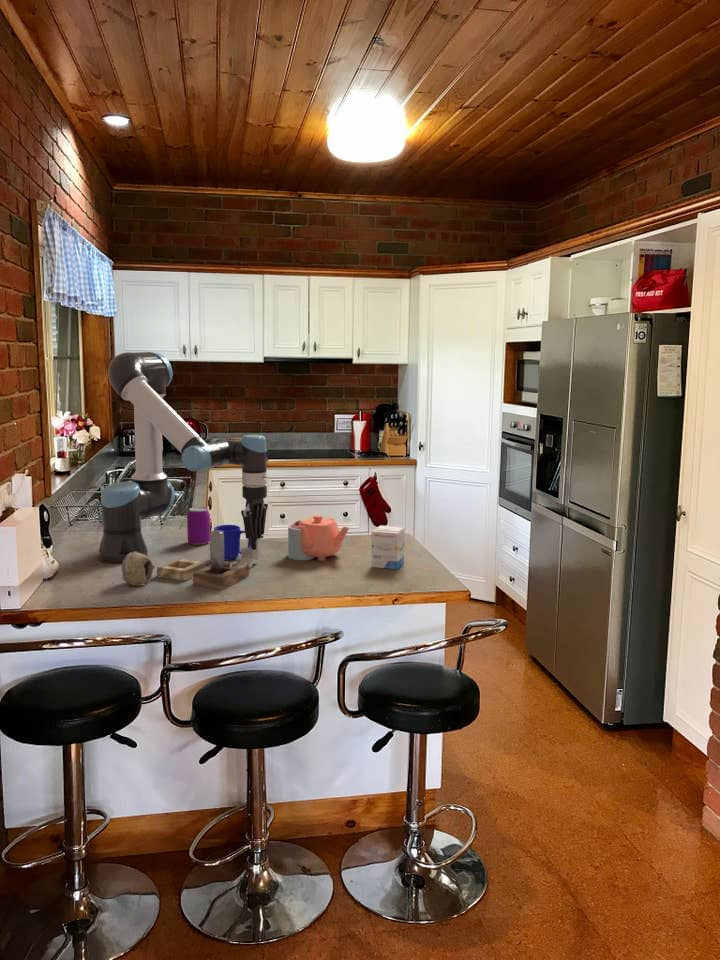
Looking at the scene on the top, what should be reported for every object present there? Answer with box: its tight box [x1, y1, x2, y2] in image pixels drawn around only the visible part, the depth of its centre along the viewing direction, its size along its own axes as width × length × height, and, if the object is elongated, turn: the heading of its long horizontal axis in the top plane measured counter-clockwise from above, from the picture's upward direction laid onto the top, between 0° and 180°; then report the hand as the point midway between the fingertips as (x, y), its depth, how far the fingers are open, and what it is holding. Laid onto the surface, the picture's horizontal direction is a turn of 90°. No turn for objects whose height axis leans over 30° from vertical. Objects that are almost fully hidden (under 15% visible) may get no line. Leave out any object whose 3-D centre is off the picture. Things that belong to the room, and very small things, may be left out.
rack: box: [156, 557, 206, 582], centre depth 229 cm, size 10×10×3 cm
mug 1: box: [213, 524, 250, 561], centre depth 245 cm, size 8×12×10 cm
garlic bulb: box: [121, 551, 155, 586], centre depth 220 cm, size 9×8×10 cm
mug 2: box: [287, 523, 318, 561], centre depth 247 cm, size 14×9×10 cm
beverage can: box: [186, 506, 211, 546], centre depth 263 cm, size 8×8×12 cm
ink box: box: [371, 525, 406, 570], centre depth 240 cm, size 9×8×12 cm
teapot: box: [293, 514, 350, 562], centre depth 248 cm, size 16×17×14 cm
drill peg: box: [209, 529, 226, 574], centre depth 221 cm, size 4×4×15 cm
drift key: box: [231, 546, 253, 569], centre depth 234 cm, size 8×3×6 cm, turn 158°
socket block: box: [192, 560, 250, 590], centre depth 223 cm, size 14×10×4 cm
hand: (255, 558), depth 241 cm, fingers closed
